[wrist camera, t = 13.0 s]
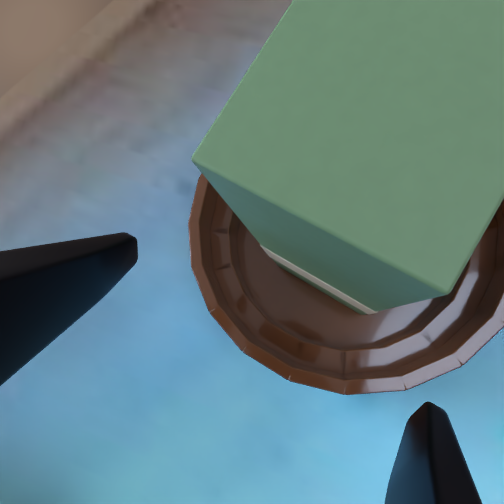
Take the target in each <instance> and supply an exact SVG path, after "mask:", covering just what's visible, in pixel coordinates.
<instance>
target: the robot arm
mask: <svg viewBox="0 0 504 504" xmlns="http://www.w3.org/2000/svg"><path fill="white" fill-rule="evenodd" d="M137 259H138V247H137V239H136V238H135V237H133V236H132V235H130V234H128V233H125V232H123V233H116V234H110V235H103V236H97V237H90V238H84V239H78V240H71V241H65V242H58V243H52V244H45V245H39V246H32V247H26V248H19V249H13V250H6V251H0V386H1V385H2V384H3V383H4V382H6V381H7V380H8V379H9V378H10V377H11V376H13V375H14V374H15V373H16V372H17V371H18V370H20V369H21V368H22V367H23V366H24V365H25V364H27V363H28V362H29V361H30V360H31V359H32V358H34V357H35V356H36V355H37V354H38V353H39V352H41V351H42V350H43V349H44V348H45V347H46V346H48V345H49V344H50V343H51V342H52V341H53V340H55V339H56V338H57V337H58V336H59V335H60V334H62V333H63V332H64V331H65V330H66V329H67V328H69V327H70V326H71V325H72V324H73V323H74V322H76V321H77V320H78V319H79V318H80V317H81V316H83V315H84V314H85V313H86V312H87V311H88V310H90V309H91V308H92V307H93V306H94V305H95V304H97V303H98V302H99V301H100V300H101V299H102V298H103V297H104V296H105V295H106V294H107V293H108V292H109V291H110V290H111V289H112V288H113V287H114V286H115V285H116V284H117V283H118V282H119V281H120V280H121V279H122V278H123V276H124V275H125V274H126V273H127V272H128V271H129V270H130V269H131V268H132V267H133V266H134V265H135V263H136V262H137ZM385 504H482V502H481V499H480V497H479V494H478V492H477V489H476V487H475V484H474V481H473V479H472V476H471V474H470V471H469V469H468V466H467V464H466V461H465V458H464V456H463V453H462V451H461V448H460V446H459V443H458V440H457V438H456V435H455V433H454V430H453V428H452V425H451V422H450V420H449V417H448V415H447V413H446V412H445V410H443V409H442V408H440V407H438V406H436V405H435V404H433V403H431V402H425V403H424V404H423V405H422V406H421V407H420V408H419V409H418V410H417V411H416V412H415V413H414V414H412V415H411V417H410V418H409V419H408V421H407V424H406V427H405V430H404V433H403V436H402V440H401V443H400V446H399V450H398V453H397V456H396V460H395V463H394V466H393V469H392V473H391V476H390V480H389V483H388V488H387V493H386V498H385Z"/></svg>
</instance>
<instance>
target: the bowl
mask: <svg viewBox="0 0 504 504" xmlns="http://www.w3.org/2000/svg"><path fill="white" fill-rule="evenodd" d="M188 229H189V243H190V258H191V268H192V271H193V273H194V276H195V278H196V281H197V283H198V286H199V288H200V291H201V293H202V296H203V298H204V301H205V303H206V306H207V308H208V311H209V312H210V314H211V315H212V316H213V318H214V319H215V320H216V321H217V322H218V324H219V325H220V326H221V327H222V328H223V330H224V331H225V332H226V333H227V334H228V336H229V337H230V338H231V339H232V340H233V342H234V343H235V344H236V345H237V346H238V347H239V349H240V350H241V351H243V353H245V354H246V355H248V356H250V357H251V358H253V359H254V360H256V361H258V362H259V363H261V364H262V365H264V366H266V367H267V368H269V369H270V370H272V371H274V372H275V373H277V374H278V375H280V376H282V377H283V378H285V379H286V380H289V381H291V382H295V383H299V384H303V385H307V386H311V387H315V388H319V389H323V390H327V391H331V392H335V393H339V394H343V395H354V394H367V393H380V392H394V391H405V390H408V389H411V388H413V387H415V386H418V385H420V384H422V383H425V382H427V381H429V380H432V379H434V378H436V377H439V376H441V375H443V374H446V373H448V372H450V371H452V370H455V369H457V368H459V367H461V366H462V365H464V364H465V363H466V362H467V361H468V360H470V359H471V358H472V357H473V356H474V355H475V354H476V353H477V352H478V351H479V350H480V349H481V348H482V347H483V346H484V345H485V344H486V343H487V342H488V341H490V340H491V339H492V338H493V337H494V336H495V335H496V334H497V333H498V332H499V331H500V330H501V329H502V328H503V327H504V199H503V200H502V202H501V204H500V206H499V208H498V209H497V211H496V213H495V215H494V216H493V218H492V220H491V222H490V223H489V225H488V227H487V229H486V231H485V232H484V234H483V236H482V238H481V239H480V241H479V243H478V245H477V246H476V248H475V250H474V252H473V254H472V255H471V257H470V259H469V261H468V262H467V264H466V266H465V268H464V269H463V271H462V273H461V275H460V277H459V278H458V280H457V282H456V284H455V285H454V287H453V289H452V291H451V292H450V293H449V294H447V295H444V296H440V297H436V298H432V299H427V300H423V301H419V302H415V303H411V304H407V305H403V306H398V307H394V308H390V309H386V310H382V311H378V312H377V313H374V314H370V315H369V314H365V315H361V314H359V313H357V312H355V311H354V310H352V309H350V308H349V307H347V306H345V305H344V304H342V303H340V302H338V301H337V300H335V299H333V298H332V297H330V296H328V295H327V294H325V293H323V292H321V291H320V290H318V289H316V288H315V287H313V286H311V285H310V284H308V283H306V282H304V281H303V280H301V279H299V278H298V277H296V276H294V275H293V274H291V273H289V272H288V271H286V270H284V269H282V268H281V267H279V266H278V265H277V264H276V263H275V262H274V260H273V259H272V258H271V257H269V256H268V254H267V253H266V252H265V251H264V250H263V248H262V247H261V246H260V243H259V242H258V241H257V240H256V238H255V237H254V236H253V235H252V234H251V232H250V231H249V230H248V229H247V227H246V226H245V225H244V224H243V223H242V221H241V220H240V219H239V218H238V216H237V215H236V214H235V213H234V212H233V210H232V209H231V208H230V207H229V205H228V204H227V203H226V202H225V201H224V199H223V198H222V197H221V196H220V194H219V193H218V192H217V191H216V190H215V188H214V187H213V186H212V185H211V183H210V182H209V181H208V180H207V179H206V177H205V176H204V175H203V174H201V175H200V177H199V180H198V183H197V187H196V192H195V196H194V200H193V204H192V208H191V213H190V217H189V222H188Z"/></svg>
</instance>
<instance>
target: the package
mask: <svg viewBox="0 0 504 504" xmlns="http://www.w3.org/2000/svg"><path fill="white" fill-rule="evenodd" d="M191 159H192V161H193V163H194V164H195V165H196V166H197V168H198V169H199V170H200V171H201V172H202V174H203V175H204V176H205V177H206V179H207V180H208V181H209V182H210V183H211V185H212V186H213V187H214V188H215V190H216V191H217V192H218V193H219V194H220V196H221V197H222V198H223V199H224V201H225V202H226V203H227V204H228V205H229V207H230V208H231V209H232V210H233V212H234V213H235V214H236V215H237V216H238V218H239V219H240V220H241V221H242V223H243V224H244V225H245V226H246V227H247V229H248V230H249V231H250V232H251V234H252V235H253V236H254V237H255V238H256V240H257V241H258V242H259V243H260V246H261V247H262V248H263V250H264V251H265V252H266V253H267V254H268V256H269V257H271V258H272V259H273V260H274V262H275V263H276V264H277V265H278V266H279V267H281V268H282V269H284V270H286V271H288V272H289V273H291V274H293V275H294V276H296V277H298V278H299V279H301V280H303V281H304V282H306V283H308V284H310V285H311V286H313V287H315V288H316V289H318V290H320V291H321V292H323V293H325V294H327V295H328V296H330V297H332V298H333V299H335V300H337V301H338V302H340V303H342V304H344V305H345V306H347V307H349V308H350V309H352V310H354V311H355V312H357V313H359V314H361V315H365V314H369V315H370V314H374V313H377V312H378V311H382V310H386V309H390V308H394V307H398V306H403V305H407V304H411V303H415V302H419V301H423V300H427V299H432V298H436V297H440V296H444V295H447V294H449V293H450V292H451V291H452V289H453V287H454V285H455V284H456V282H457V280H458V278H459V277H460V275H461V273H462V271H463V269H464V268H465V266H466V264H467V262H468V261H469V259H470V257H471V255H472V254H473V252H474V250H475V248H476V246H477V245H478V243H479V241H480V239H481V238H482V236H483V234H484V232H485V231H486V229H487V227H488V225H489V223H490V222H491V220H492V218H493V216H494V215H495V213H496V211H497V209H498V208H499V206H500V204H501V202H502V200H503V199H504V0H293V1H292V3H291V4H290V6H289V7H288V9H287V10H286V12H285V13H284V15H283V17H282V18H281V20H280V21H279V23H278V24H277V26H276V27H275V29H274V30H273V32H272V34H271V35H270V37H269V38H268V40H267V41H266V43H265V44H264V46H263V47H262V49H261V50H260V52H259V54H258V55H257V57H256V58H255V60H254V61H253V63H252V64H251V66H250V67H249V69H248V71H247V72H246V74H245V75H244V77H243V78H242V80H241V81H240V83H239V84H238V86H237V88H236V89H235V91H234V92H233V94H232V95H231V97H230V98H229V100H228V101H227V103H226V104H225V106H224V108H223V109H222V111H221V112H220V114H219V115H218V117H217V118H216V120H215V121H214V123H213V125H212V126H211V128H210V129H209V131H208V132H207V134H206V135H205V137H204V138H203V140H202V142H201V143H200V145H199V146H198V148H197V149H196V151H195V152H194V154H193V155H192V158H191Z"/></svg>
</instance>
